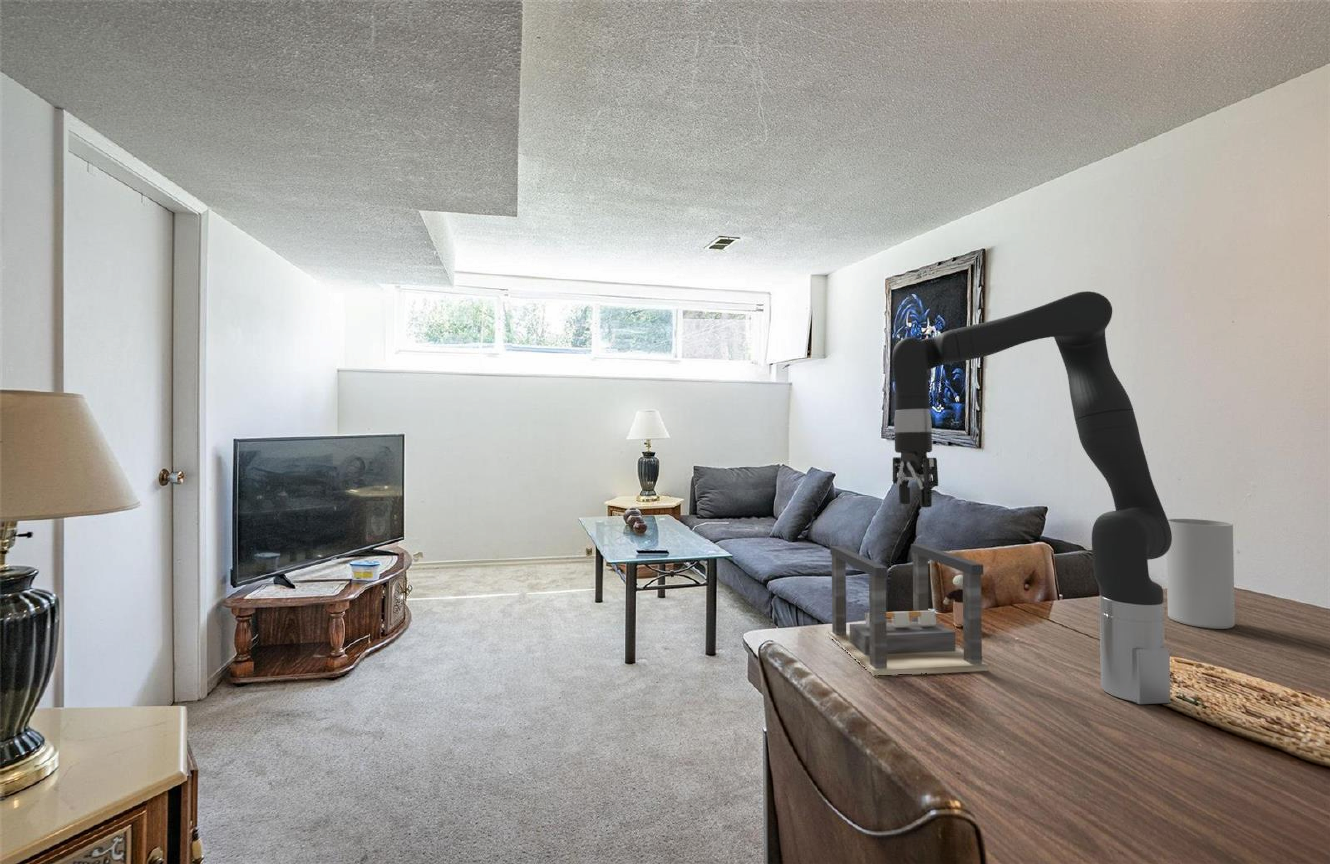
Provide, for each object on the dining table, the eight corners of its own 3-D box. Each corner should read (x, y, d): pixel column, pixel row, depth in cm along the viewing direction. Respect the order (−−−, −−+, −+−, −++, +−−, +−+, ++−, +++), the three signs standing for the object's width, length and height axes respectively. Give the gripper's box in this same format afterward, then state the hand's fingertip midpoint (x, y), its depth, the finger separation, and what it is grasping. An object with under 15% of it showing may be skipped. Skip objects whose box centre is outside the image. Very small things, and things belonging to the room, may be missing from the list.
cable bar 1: (887, 577, 118) (887, 567, 118) (876, 578, 118) (876, 567, 118) (840, 554, 142) (840, 545, 142) (830, 554, 142) (830, 546, 142)
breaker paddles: (936, 624, 131) (934, 611, 132) (869, 627, 129) (868, 613, 130) (932, 623, 133) (930, 610, 133) (866, 626, 131) (865, 612, 132)
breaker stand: (988, 670, 120) (987, 574, 120) (873, 676, 118) (872, 578, 118) (924, 632, 144) (923, 551, 144) (827, 636, 142) (827, 554, 142)
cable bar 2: (983, 574, 120) (983, 564, 120) (972, 574, 120) (971, 564, 120) (920, 552, 144) (920, 543, 144) (911, 552, 144) (910, 543, 144)
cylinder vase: (1157, 618, 153) (1155, 520, 154) (1183, 612, 159) (1182, 517, 159) (1218, 632, 142) (1217, 527, 142) (1245, 625, 147) (1243, 523, 148)
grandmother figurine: (973, 624, 150) (973, 573, 150) (980, 629, 146) (979, 577, 146) (941, 623, 150) (941, 573, 151) (947, 628, 147) (946, 576, 147)
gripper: (948, 429, 124) (950, 508, 124) (911, 431, 138) (913, 502, 138) (914, 429, 123) (916, 509, 123) (880, 432, 137) (882, 503, 137)
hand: (914, 505), depth 130 cm, fingers open, 8 cm apart
